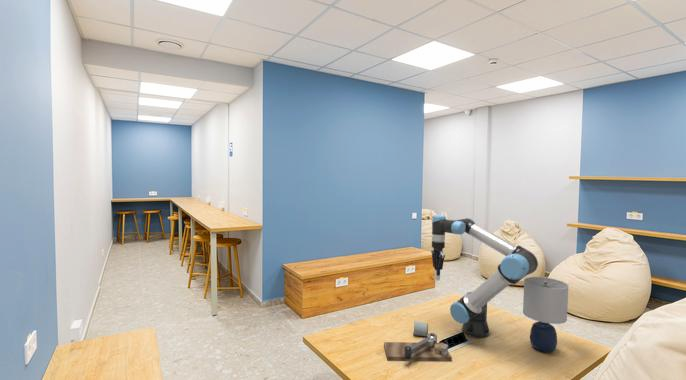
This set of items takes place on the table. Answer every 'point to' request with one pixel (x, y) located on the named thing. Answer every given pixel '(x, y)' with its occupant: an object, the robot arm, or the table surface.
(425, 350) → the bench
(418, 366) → the table surface
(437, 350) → the tan wooden cylinder
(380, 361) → the table surface
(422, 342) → the lever
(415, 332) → the ceramic mug
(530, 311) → the lamp
